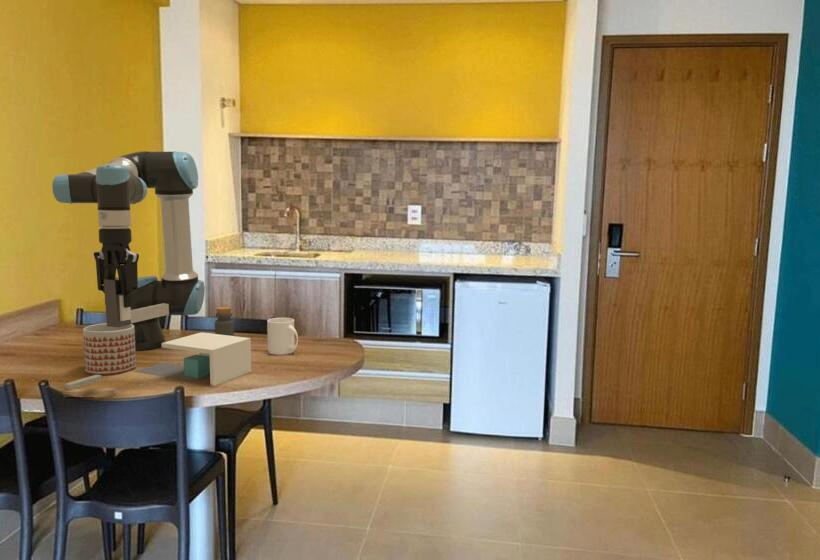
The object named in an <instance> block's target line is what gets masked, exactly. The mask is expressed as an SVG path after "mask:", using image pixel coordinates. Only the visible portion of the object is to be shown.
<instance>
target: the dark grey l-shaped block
mask: <svg viewBox="0 0 820 560" xmlns="http://www.w3.org/2000/svg"><path fill="white" fill-rule="evenodd" d="M104 292H105V294H104V305H105V317H106V319H105V320H106V323H107V326H110V327H122V326H127V325H131V323H135V322H139V321H144V320H148V319H152V318H156V317H159V318H161V317H165V316H170V315H169V304H165V303H162V304H158V305H153V306H148V307H143V308H139V309H134V310H131V319H130V320H125V321H120V305H119V293H121V288H120V283H119V277H115V278H110V279H104Z"/></svg>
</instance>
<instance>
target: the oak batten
mask: <svg viewBox="0 0 820 560" xmlns="http://www.w3.org/2000/svg"><path fill="white" fill-rule="evenodd" d="M62 392H64V393H68V394H72V395H77V396H83V397H94V398H113V397H114V396H115V395H116V393H117V392H116V388H115V387H113V388H112V387H110V388H109V387H107V388H106V387H105V388H104V387H103V388H73V389H66V388H65V389H64V390H63V391H62Z"/></svg>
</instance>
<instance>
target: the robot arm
mask: <svg viewBox="0 0 820 560" xmlns="http://www.w3.org/2000/svg"><path fill="white" fill-rule="evenodd" d="M51 185H52V188H51V189H52V195H53V197H54V199H55V200H56V201H57V202H58V203H60V204H61V203H63V204H70V205H71V204H97V217H98V218H97V222H98V223H97V225H98V226H99V227H100V228H99V229H98V241H99V243H100V244H102V245H101V250H99V251H94V252H93V257H94V260H95V267H96V269H95V270H96V280H97V281H96V282H97V284H96V285H97V290H98V291H102V292H103V293H104V295H105V292H104V279H110V278H116V275H118V278H119V283H120V288H121V293H119V305H120V321H125V320H130V319H131V310H134V309H139V308H143V307H148V306H153V305H158V304H162V303H165V304H169V315H168V316H184V317H186V316H195V315H197V314H199V313H200V311H201V309H202V306H203V304H204V299H205V291H206V289H205V282H204V281H203V280H201V279H199V273H197V272H196V271H195V270H194V267H193V252H192V249H193V248H192V235H191V234H192V233H191V222H190V221H191V219H190V217H191V215H190V203H189V200H190V198H191V197H192V196H193V194H194V190H195V189H197V188H198V186H199V172H198V169H197V165H196V161H195V159H194V157H193V156H192V155H191V154H190V153H188V152H182V151H176V150H175V151H136V152H131V153H127V154H123V155H121V156H117V157H114V158H113V159H110V161H109V162H108V163H107V164H104V165H103V164H102V165H100V164H99V165H98V166H97V167H96V168H91V169H89V170H86V171H83V172H79V173H73V174H71V173H66V174H57V175H56V176H55V177H54V178H53V180H52V184H51ZM148 189H154V194H155V196H156V197H157V198H159V200H160V208H161V209H160V210H161V224H162V236H163V237H162V238H163V250H164V252H163V253H164V264H165V267H164V268H165V272H164V273H163V274H162V275H161V276H160V279H161V280H158V279H159V278H158V277H157V276H156V275H148V276H141V277H138V261H139V258H140V254H139V253H134V252H132V251H131V248H130V243H131V242H132V238H133V237H132V229H131V228H130V227H131V226H132V215H131V205H136V204H139V203H141V202H143V200H145V198H146V197H147V193H148ZM131 324H132V325H134V329H135V350H136V351H145V350H153V349H157V348H162V343H164V342H166V337H165V334H164V333H163V330H162V326H161V324H160V317H156V318H152V319H148V320H144V321H139V322H135V323H131Z"/></svg>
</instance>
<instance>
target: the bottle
mask: <svg viewBox="0 0 820 560" xmlns="http://www.w3.org/2000/svg"><path fill="white" fill-rule="evenodd" d="M215 309H216V313H215V317H216V318H217V320H215V321H214V334H220V335H228V336H235V332H234V331H235V329H234V320H233V319H232V318H231V317H233V312H231V311H232V306H218V307H216V308H215Z"/></svg>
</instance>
